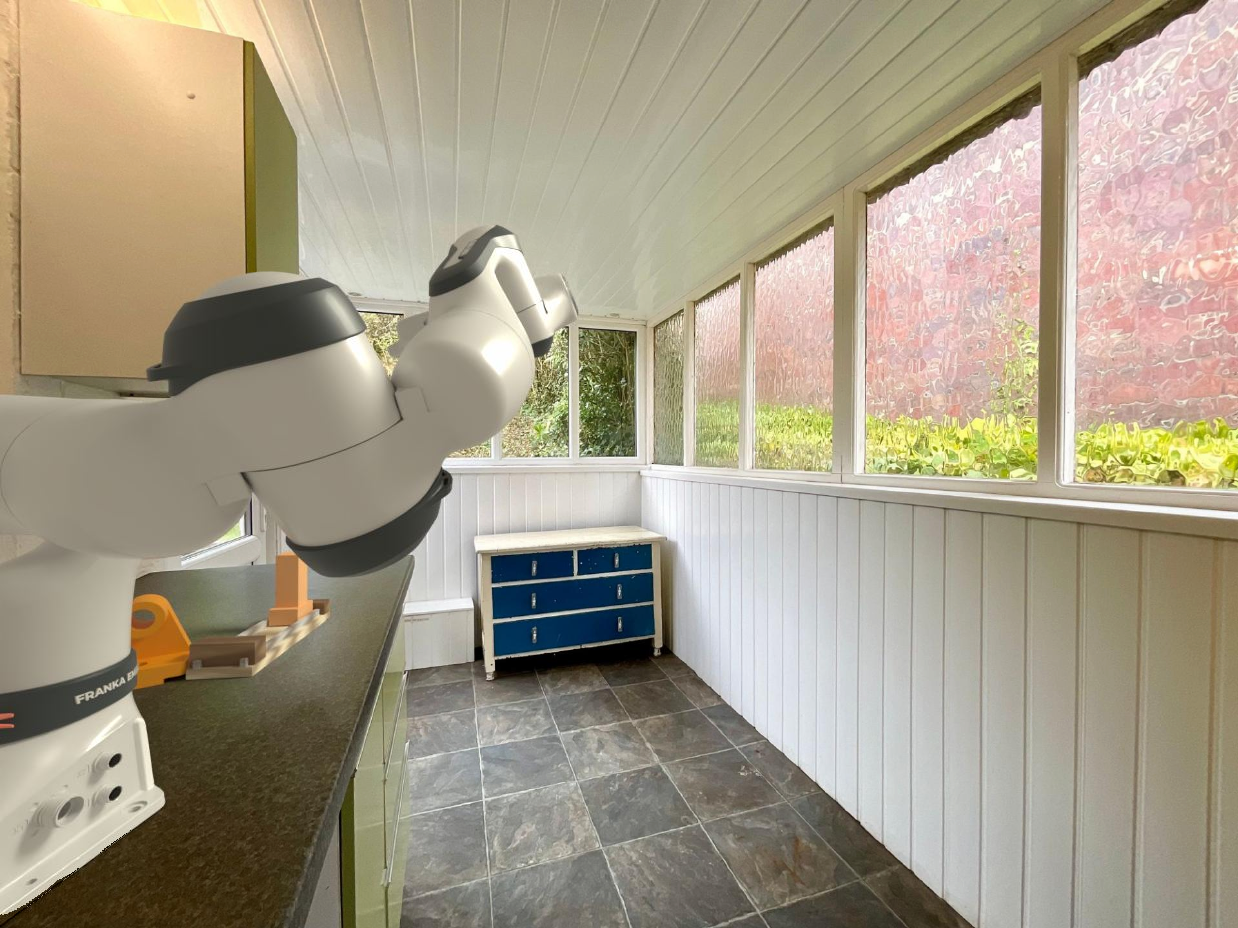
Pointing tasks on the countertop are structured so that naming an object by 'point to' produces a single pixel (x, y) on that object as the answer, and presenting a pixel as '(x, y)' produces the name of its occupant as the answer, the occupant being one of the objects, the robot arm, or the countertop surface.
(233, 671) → the rail board
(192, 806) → the countertop surface
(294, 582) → the slider
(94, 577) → the robot arm
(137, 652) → the bracket
